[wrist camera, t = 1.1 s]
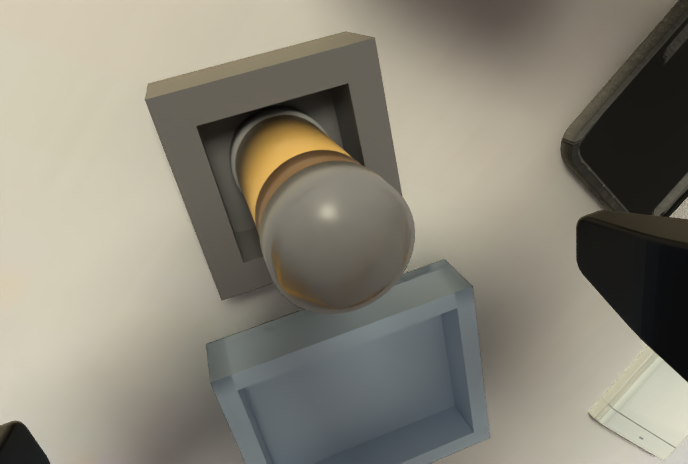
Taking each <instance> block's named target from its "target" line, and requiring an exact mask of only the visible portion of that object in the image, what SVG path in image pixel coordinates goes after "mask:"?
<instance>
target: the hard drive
mask: <svg viewBox="0 0 688 464" xmlns="http://www.w3.org/2000/svg"><path fill="white" fill-rule="evenodd" d="M588 413H589V414H590V415H591V416H592V417H593V418H594V419H595V420H597V421H598V422H599V423H601V424H602V425H603V426H605V427H607V428H608V429H610V430H612V431H613V432H615V433H617V434H618V435H620V436H622V437H624V438H625V439H627V440H629V441H630V442H632V443H634V444H635V445H637V446H639V447H641V448H642V449H644V450H646V451H647V452H649V453H651V454H653V455H654V456H656V457H658V458H660V459H661V460H665V459H666V458H667V457H668V456H669V455H670V454H671V453H672V452H673V451H674V449H675V448H676V447H677V446H679V444H680V443H681V442H682V441H683V440H684V439H685V438H686V437H687V436H688V382H687V381H685V380H684V379H683V378H682V377H681V376H680V375H679V374H678V373H677V372H676V371H675V370H674V369H672V368H671V367H670V366H669V365H668V364H667V363H666V362H665V361H664V360H663V359H662V358H660V357H659V356H658V355H657V354H656V353H655V352H654V351H653V350H652V349H651V348H650V347H649V346H648V347H647V348H646V349H645V350H644V351H643V352H642V353H641V354H640V355H639V357H638V358H637V359H636V360H635V361H634V362H633V363H632V364H631V365H630V367H629V368H628V369H627V370H626V371H625V372H624V373H623V374H622V375H621V377H620V378H619V379H618V380H617V381H616V382H615V383H614V384H613V385H612V387H611V388H610V389H609V390H608V391H607V392H606V393H605V394H604V395H603V397H602V398H601V399H600V400H599V401H598V402H597V403H596V404H595V405H594V406H593V408H592V409H591V410H590V411H589V412H588Z"/></svg>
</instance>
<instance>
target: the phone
mask: <svg viewBox="0 0 688 464" xmlns="http://www.w3.org/2000/svg"><path fill="white" fill-rule="evenodd" d="M561 155H562V158H563V160H564V162H565V163H566V164H567V165H568V166H569V167H570V169H571V170H572V171H573V172H574V173H575V174H576V175H577V176H578V177H579V178H580V180H581V181H582V182H583V183H584V184H585V185H586V186H587V187H588V188H589V189H590V190H591V192H592V193H593V194H594V195H595V196H596V197H597V198H598V199H599V200H600V201H601V203H602V204H603V205H604V206H605V207H606V208H607V209H608V210H609V211H616V212H625V213H635V214H644V215H653V216H662V217H669V216H670V215H671V214H672V213H673V212H674V211H675V210H676V209H677V208H678V207H679V206H680V205H681V203H682V202H683V201H684V200H685V199H686V198H687V197H688V0H679V1H678V2H677V3H676V5H675V6H674V7H673V8H672V9H671V10H670V11H669V13H668V14H667V15H666V16H665V17H664V18H663V20H662V21H661V22H660V23H659V24H658V25H657V26H656V28H655V29H654V30H653V31H652V32H651V33H650V34H649V36H648V37H647V38H646V39H645V40H644V41H643V43H642V44H641V45H640V46H639V47H638V48H637V49H636V51H635V52H634V53H633V54H632V55H631V56H630V57H629V59H628V60H627V61H626V62H625V63H624V64H623V66H622V67H621V68H620V69H619V70H618V71H617V72H616V74H615V75H614V76H613V77H612V78H611V79H610V80H609V82H608V83H607V84H606V85H605V86H604V87H603V89H602V90H601V91H600V92H599V93H598V94H597V95H596V97H595V98H594V99H593V100H592V101H591V102H590V103H589V105H588V106H587V107H586V108H585V109H584V110H583V112H582V113H581V114H580V115H579V116H578V117H577V118H576V120H575V121H574V122H573V123H572V124H571V125H570V127H569V128H568V129H567V131H566V132H565V134H564V136H563V139H562V142H561ZM575 171H576V172H577V173H576V172H575Z"/></svg>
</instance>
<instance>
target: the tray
mask: <svg viewBox="0 0 688 464" xmlns="http://www.w3.org/2000/svg"><path fill="white" fill-rule="evenodd" d="M206 349H207V358H208V366H209V375H210V383H211V385H212V388H213V390H214V392H215V395H216V397H217V399H218V401H219V404H220V406H221V408H222V411H223V413H224V415H225V418H226V420H227V422H228V425H229V427H230V429H231V432H232V434H233V436H234V439H235V441H236V443H237V445H238V448H239V450H240V452H241V455H242V457H243V459H244V462H245V464H429V463H432V462H434V461H436V460H439V459H441V458H443V457H446V456H448V455H451V454H453V453H455V452H458V451H460V450H462V449H465V448H467V447H469V446H472V445H474V444H476V443H479V442H481V441H483V440H486V439H488V438H490V432H489V423H488V415H487V406H486V397H485V389H484V380H483V371H482V363H481V354H480V345H479V337H478V328H477V319H476V311H475V302H474V293H473V286H472V285H471V284H470V283H469V282H468V281H467V280H466V279H465V278H464V277H463V276H462V275H461V274H460V273H458V272H457V271H456V270H455V269H454V268H453V267H452V266H451V265H450V264H449V263H448V262H447V261H446V260H442V261H439V262H436V263H433V264H431V265H428V266H425V267H422V268H419V269H417V270H414V271H411V272H408V273H405V274H402V276H401V277H400V278H399V280H398V281H397V282H396V284H395V285H394V286H393V287H392V288H391V289H390V290H389V291H388V292H387V293H385V294H384V295H383V296H382V297H380V298H379V299H377V300H376V301H374V302H373V303H371V304H369V305H367V306H365V307H363V308H360V309H358V310H354V311H351V312H347V313H341V314H320V313H315V312H311V311H308V310H305V309H304V310H301V311H298V312H296V313H293V314H290V315H287V316H284V317H282V318H279V319H276V320H273V321H270V322H267V323H265V324H262V325H259V326H256V327H253V328H251V329H248V330H245V331H242V332H239V333H237V334H234V335H231V336H228V337H225V338H222V339H220V340H217V341H214V342H211V343H208V344H206Z"/></svg>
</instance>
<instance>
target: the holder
mask: <svg viewBox="0 0 688 464" xmlns="http://www.w3.org/2000/svg"><path fill="white" fill-rule="evenodd" d="M145 101H146V104H147V106H148V109H149V112H150V114H151V117H152V120H153V122H154V125H155V127H156V130H157V133H158V135H159V138H160V140H161V143H162V146H163V148H164V151H165V154H166V156H167V159H168V161H169V164H170V167H171V169H172V172H173V174H174V177H175V180H176V182H177V185H178V187H179V190H180V193H181V195H182V198H183V201H184V203H185V206H186V208H187V211H188V214H189V216H190V219H191V221H192V224H193V227H194V229H195V232H196V235H197V237H198V240H199V242H200V245H201V248H202V250H203V253H204V255H205V258H206V261H207V263H208V266H209V269H210V271H211V274H212V276H213V279H214V282H215V284H216V287H217V289H218V292H219V295H220V297H221V300H225V299H228V298H231V297H234V296H236V295H239V294H242V293H245V292H248V291H251V290H254V289H257V288H260V287H263V286H266V285H268V284H271V283H274V282H273V280H272V278H271V275H270V273H269V270H268V268H267V265H266V262H265V260H264V257H263V254H262V250H261V246H260V237H259V235H258V232H257V228H256V225H255V222H254V220H253V217H252V214H251V212H250V209H249V207H248V204H247V202H246V199H245V196H244V195H243V194H242V192H241V191H240V189H239V188H238V186H237V184H236V181H235V179H234V176H233V174H232V171H231V167H230V162H229V150H230V144H231V141H232V138H233V136H234V134H235V132H236V130H237V129H238V127H239V126H240V125H241V124H242V122H243V121H244V120H245V119H247V118H248V117H249V116H250V115H252V114H253V113H255V112H257V111H259V110H262V109H264V108H268V107H273V106H286V107H292V108H295V109H298V110H300V111H302V112H304V113H306V114H307V115H308V116H310V117H311V118H312V119H313V120H315V121H316V122H317V123H318V124H319V125H320V126H321V127H322V128H323V129H324V130H325V132H326V133H327V135H328V136H329V137H330V138H331V139H332V140H333V141H334V142H335V143H336V144H338V145H339V146H340V147H341V148H342V149H343V150H344V151H346V152H347V153H348V154H349V155H350V156H351V157H352V158H354V159H355V160H357V161H358V162H359V163H360V164H362V165H363V166H365V167H367V168H369V169H371V170H372V171H374V172H375V173H377V174H378V175H379V176H380V177H382V178H383V179H384V180H385V181H386V182H387V183H389V184H390V185H391V186H392V187H393V188H394V189H395V190H397V191H398V192H399V193H400V195H401V196H402V192H401V187H400V181H399V175H398V169H397V163H396V158H395V152H394V146H393V140H392V135H391V129H390V123H389V117H388V111H387V106H386V100H385V94H384V88H383V82H382V77H381V71H380V65H379V59H378V54H377V48H376V42H375V38H374V37H369V36H364V35H359V34H355V33H350V32H342V33H338V34H335V35H331V36H327V37H323V38H320V39H316V40H312V41H308V42H304V43H301V44H297V45H293V46H289V47H285V48H282V49H278V50H274V51H270V52H267V53H263V54H259V55H255V56H251V57H248V58H244V59H240V60H236V61H233V62H229V63H225V64H221V65H217V66H214V67H210V68H206V69H202V70H198V71H195V72H191V73H187V74H183V75H180V76H176V77H172V78H168V79H164V80H161V81H157V82H153V83H149V84H148V86H147V91H146V97H145Z"/></svg>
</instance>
